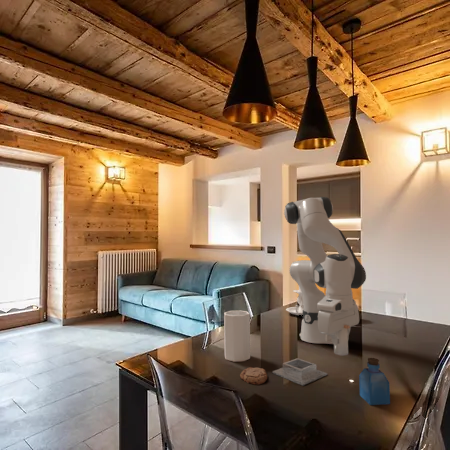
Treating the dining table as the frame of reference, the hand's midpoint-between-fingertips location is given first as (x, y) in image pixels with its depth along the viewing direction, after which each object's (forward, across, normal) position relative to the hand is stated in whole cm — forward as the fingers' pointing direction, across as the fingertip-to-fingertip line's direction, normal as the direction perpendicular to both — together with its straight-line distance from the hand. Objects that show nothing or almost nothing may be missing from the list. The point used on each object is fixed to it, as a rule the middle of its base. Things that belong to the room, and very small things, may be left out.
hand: (340, 342), depth 113 cm
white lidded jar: (+4, 0, 0) cm, 4 cm away
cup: (+14, +11, -42) cm, 46 cm away
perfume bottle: (+14, +3, +13) cm, 19 cm away
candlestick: (+16, -74, -74) cm, 106 cm away
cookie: (+14, +20, -22) cm, 33 cm away
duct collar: (+14, +5, -14) cm, 20 cm away
